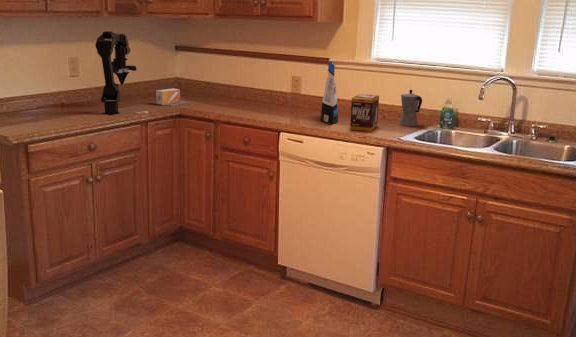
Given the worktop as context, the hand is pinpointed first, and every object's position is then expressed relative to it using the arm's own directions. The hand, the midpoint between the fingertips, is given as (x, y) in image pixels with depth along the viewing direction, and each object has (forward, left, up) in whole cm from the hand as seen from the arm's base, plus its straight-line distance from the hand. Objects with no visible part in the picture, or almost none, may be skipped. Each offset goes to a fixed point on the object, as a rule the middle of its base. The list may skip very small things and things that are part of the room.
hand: (121, 84), depth 339 cm
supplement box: (+29, -137, -13) cm, 141 cm away
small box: (+18, -11, -9) cm, 23 cm away
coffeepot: (+49, -154, -13) cm, 162 cm away
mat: (+27, -10, -13) cm, 32 cm away
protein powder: (+36, -114, -13) cm, 120 cm away
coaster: (-7, -21, -13) cm, 26 cm away
